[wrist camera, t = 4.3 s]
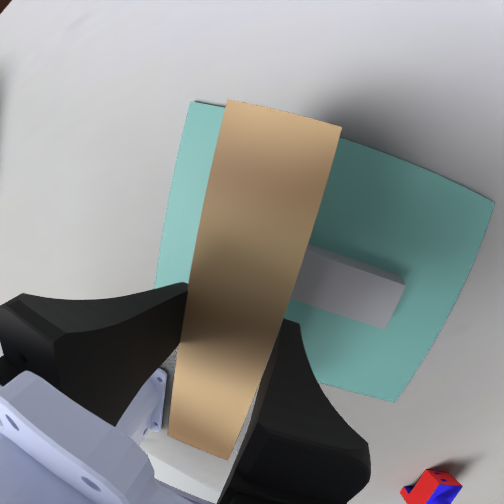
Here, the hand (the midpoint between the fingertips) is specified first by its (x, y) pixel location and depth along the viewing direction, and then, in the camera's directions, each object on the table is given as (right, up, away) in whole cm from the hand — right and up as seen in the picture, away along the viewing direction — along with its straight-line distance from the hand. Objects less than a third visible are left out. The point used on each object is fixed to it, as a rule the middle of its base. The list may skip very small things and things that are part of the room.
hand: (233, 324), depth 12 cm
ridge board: (+4, +2, +7) cm, 9 cm away
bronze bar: (+1, +1, +4) cm, 4 cm away
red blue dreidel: (+19, -21, +11) cm, 31 cm away
